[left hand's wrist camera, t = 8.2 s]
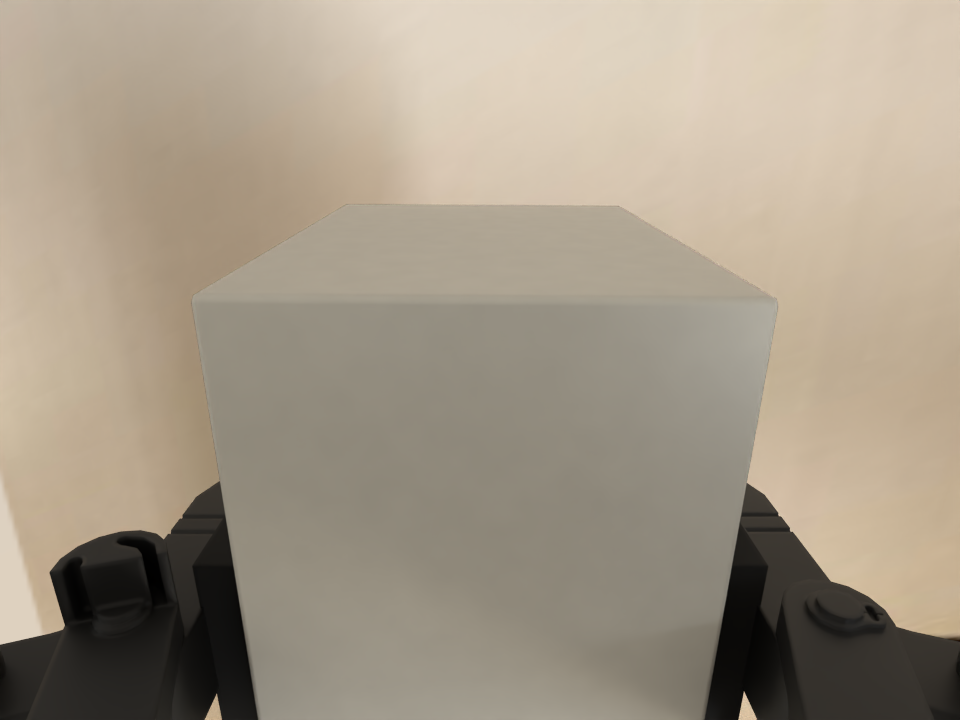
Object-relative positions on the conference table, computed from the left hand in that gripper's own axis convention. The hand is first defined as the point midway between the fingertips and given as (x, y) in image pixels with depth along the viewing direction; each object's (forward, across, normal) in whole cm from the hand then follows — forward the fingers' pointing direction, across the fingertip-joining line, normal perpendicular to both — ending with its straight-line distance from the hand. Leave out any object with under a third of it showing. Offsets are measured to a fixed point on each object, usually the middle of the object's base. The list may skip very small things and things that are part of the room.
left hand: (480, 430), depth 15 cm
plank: (0, 0, -21) cm, 21 cm away
